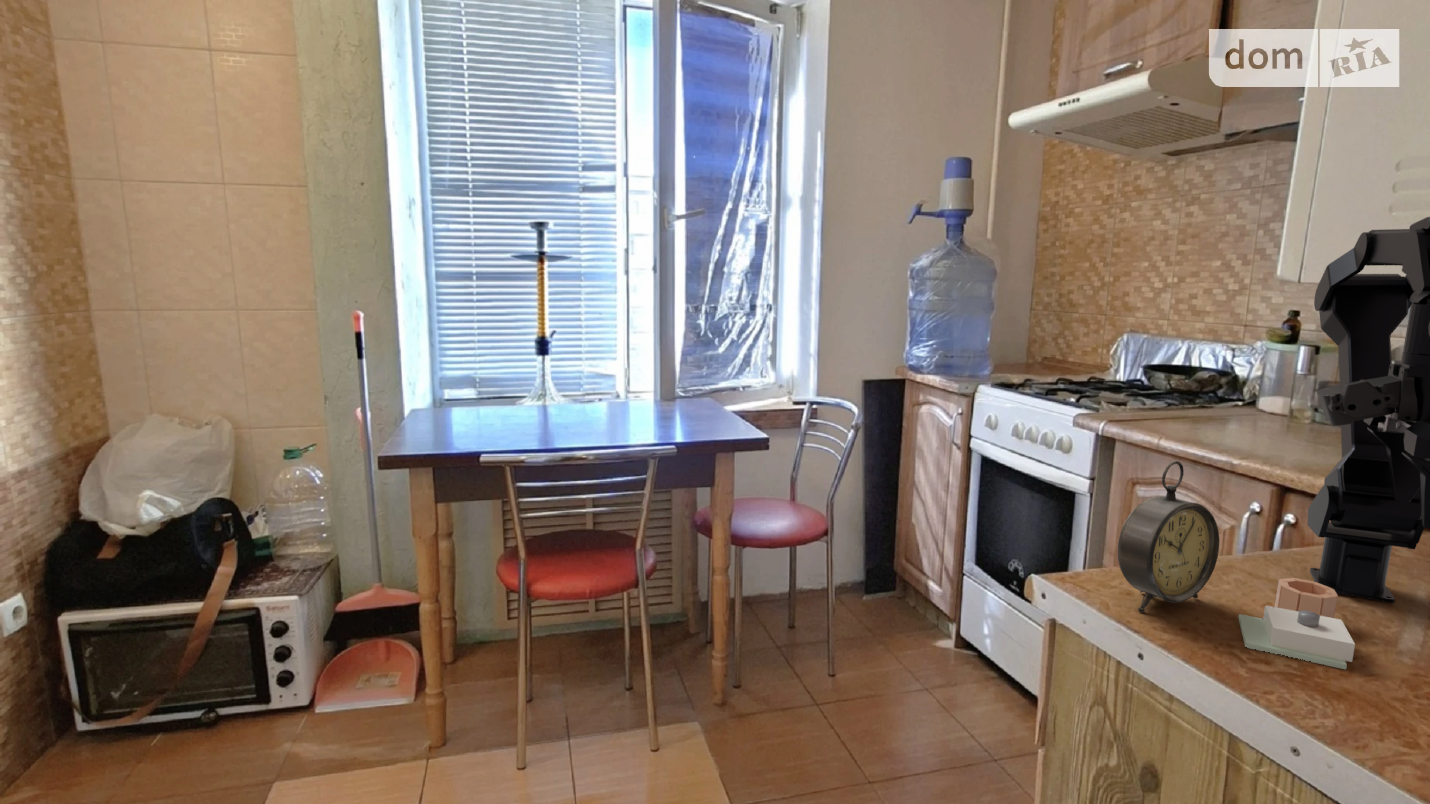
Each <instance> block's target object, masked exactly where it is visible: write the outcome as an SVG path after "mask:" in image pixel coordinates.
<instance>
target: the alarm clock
mask: <svg viewBox="0 0 1430 804" xmlns="http://www.w3.org/2000/svg"><path fill="white" fill-rule="evenodd" d="M1174 465H1177V466H1178V467H1179V470H1180V474H1179V475H1180V476H1179V479H1178V481H1177V482H1176V484H1175V485H1173V484H1169V485H1166V477H1167V473H1168V471H1169V470H1170V468H1171V467H1172V466H1174ZM1184 471H1185V470H1184V466H1183V464H1182V463H1181V462H1180V461H1179V460H1173V461H1171V462H1170V463H1168V464H1167V466H1166V467H1165V468H1164V470H1163V473H1162V476H1161V483H1162V484H1161V485H1162V487H1163V488H1164V489H1165V490H1166V495H1165V496H1164V495H1158V496H1153V497H1150V498H1148V499H1145V500H1144V501H1142V502H1141V503H1139V504H1138V505H1137V506H1136V507H1135V508H1134V509H1133V510H1132V511H1131V512H1130V513H1129V515H1128V516H1127V517H1126V519H1125V521H1124V523H1123V525H1122V528H1121V531H1120V533H1119V536H1118V537H1119V538H1118V543H1117V561H1118V564H1119V568H1120V572H1121V573H1122V575H1123V577H1124V579H1125V580H1126V581H1127V583H1128V584H1129V585H1130V586H1131V587H1133V588H1134V589H1136V590H1138V591H1139V593H1145V594H1144V595H1143V597H1142V601H1141V603H1140V604H1141V605H1140V606H1138V608H1137V610H1138V612H1139V613H1142V614H1143V613H1145V612H1146V611H1145V610H1146V607H1147V606H1148V605H1149V604H1150V602H1151V600H1152V599H1153V598H1159V599H1161V600H1163V601H1166V602H1169V603H1173V604H1176V603H1177V604H1178V603H1182V602H1185V601H1187V600H1190V599H1191V598H1193V599H1198V598H1199V593H1200V592H1201V590H1202V589H1203V588H1204V587H1205V586H1206V584H1207V583H1208V581H1209V580H1210V578H1211V576H1212V575H1213V572H1214V570H1215V567H1216V565H1217V561H1218V557H1219V551H1220V533H1219V527H1218V524H1217V521H1216V519H1215V517H1214V515H1213V513H1211V512H1210V510H1209V509H1208V508H1207V507H1206V506H1204V505H1203V504H1200V503H1198V502H1192V501H1188V500H1182V499H1179V498H1177V497H1176V492H1177V488H1178V487H1179V486H1180V485H1181V483H1182V481H1183V479H1184V478H1183V477H1184V473H1185V472H1184Z"/></svg>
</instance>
